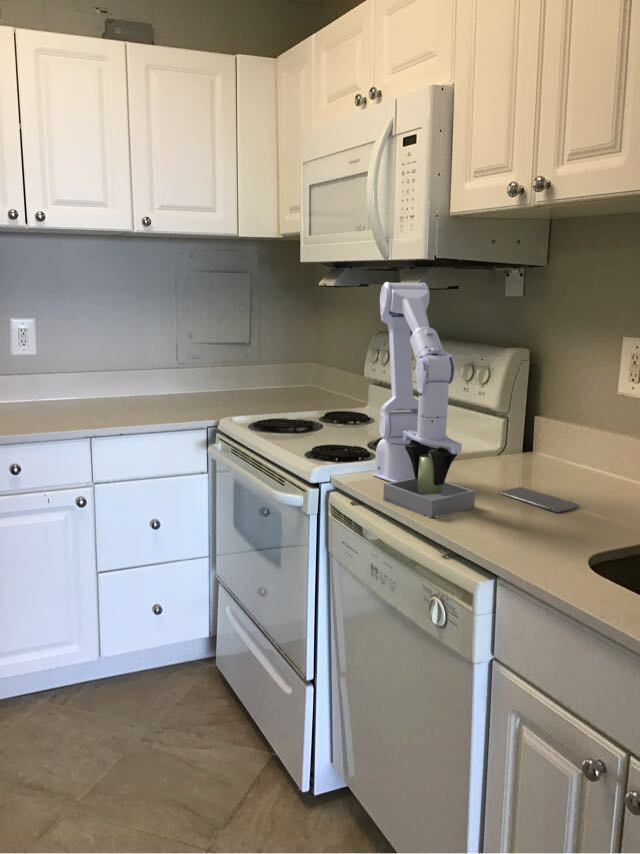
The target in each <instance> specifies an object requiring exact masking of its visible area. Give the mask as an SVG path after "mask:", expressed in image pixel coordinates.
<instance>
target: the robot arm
mask: <svg viewBox="0 0 640 854" xmlns="http://www.w3.org/2000/svg"><path fill="white" fill-rule="evenodd" d="M430 296H431V294H430V289H429V286H428V285H427V283H425V282H420V283H419V282H389V281H385V282H383V285H382V286H381V289H380V294H379V307H380V308H379V309H380V310H379V311H380V317H381V319H380V320H381V322H383V323H384V324H385V325H387V328H388V334H389V335H388V336H389V338H388V339H389V340H388V341H389V357H390V358H389V359H390V360H389V362H390V364H389V365H390V383H391V386H390V387H391V397H390V398H389V399H388V400H387V401H386V402H385V403H383V404H382V405H381V406H380V410H379V419H378V420H379V421H378V429H379V430H378V431H379V434H380V437H381V438H382V439H380V440H379V442H378V443H377V445H376V451H375V472H374V473H372V476H373V477H376V478H379V479H381V480H382V479H383V480H384V481H387V482H389V483H390V482H395V481H400V480H405V479H410V478H415V479H418V470H419V456H420V455H425V454H429V453H430V454H431V457H432V461H433V467H434V485H436V486H438V485H443V484H444V482H445V481H446V478H447V475H448V472H449V470H450V468H451V465H452V463H453V462H454V460H455V459H456V458H457V456H458V454H461V453H462V445H463V444H462V442H458V441H456V440H454V439H452V438H449V434H448V435H447V424H448V422H447V421H448V407H449V405H448V404H449V387H450V384H452V382H453V381H454V378H455V370H456V369H455V367H456V366H455V361H454V358H453V356H452V355H451V354H449V353H448V352H447V351H445V350H444V347H443V345H442V343H441V342H442V341H440V337H439V335H438V332H437V331H436V329H434V328H432V327H430V324H429V319H428V315H427V314H428V313H427V309H428V307H429V304H430V299H431V298H430ZM412 351H413V352H412ZM412 353H413V354H414V357H415V360H416V361H415V362H416V364H415V379H416V391H417V392H418V399H417V398H415V397H414V384H413V382H414V381H413V365H412V364H413V363H412V362H413V361H412V359H413V358H412ZM431 448H434V449H438V450H432V451H430V450H431Z"/></svg>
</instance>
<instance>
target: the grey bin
mask: <svg viewBox="0 0 640 854" xmlns="http://www.w3.org/2000/svg"><path fill="white" fill-rule="evenodd" d="M417 483H418V479H415V478H410V479H405V480H400V481H395V482H390V481H389V482H386V483H383V496H382V497H383V499H382V500H383V501H385V502H388V503H391V504H393V505H395V504H396V506H398V507H401V508H404V509H405V508H406V509H405V510H408V509H409V510H408V511H411V510H412V511H411V512H413V511H414V512H413V513H416V512H417V513H416V514H419V513H420V515H421V514H423V515H422V516H424V515H426V516H429V517H431V518H430V519H433V518H432V517H435V518H437V517H436V516H439V517H442V516H441V515H443V516H446V515H445V514H447V515H450V513H451V514H455V513H459V512H463V511H466V510H470V509H475V505H476V504H475V502H476V490H473V489H470V488H467V487H464V486H460V485H457V484H454V483H451V482H449V481H446V480H445V482H444V484H443V485H442V493H439V494H426V493H421V492H419V491H417ZM458 511H459V512H458ZM454 512H455V513H454ZM426 516H425V517H426ZM429 517H428V518H429Z"/></svg>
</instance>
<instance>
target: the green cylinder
mask: <svg viewBox="0 0 640 854" xmlns="http://www.w3.org/2000/svg"><path fill="white" fill-rule="evenodd" d="M417 491H419V492H421V493H426V494H439V493H442V485H438V486H436V485H434V467H433V461H432V457H431V454H429V453H428V454H425V455H420V456H419V470H418V483H417Z"/></svg>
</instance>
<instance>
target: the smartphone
mask: <svg viewBox="0 0 640 854" xmlns="http://www.w3.org/2000/svg"><path fill="white" fill-rule="evenodd" d="M498 494H499V495H500V496H503V497H507V498H509V499H513V500H515V501H519V502H521V503H523V504H528V505H529V506H534V507H536V508H539V509H542V510H545V511H548V512H552V513H555V514H562V513H565V512H569V511H573V510H578V509H580V507H581V505H580V504H579V503H577V502H573V501H570V500H566V499H564V498H563V499H562V498H559V497H556V496H553V495H549V494H546V493H542V492H539V491H535V490H532V489H529V488H525V487H522V486H521V487H513V488H510V489H505V490H500V491H499V492H498Z"/></svg>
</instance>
